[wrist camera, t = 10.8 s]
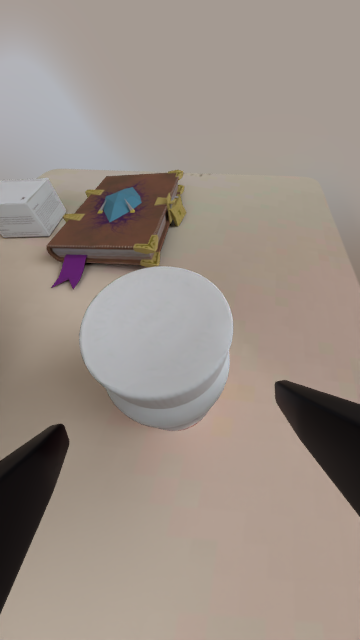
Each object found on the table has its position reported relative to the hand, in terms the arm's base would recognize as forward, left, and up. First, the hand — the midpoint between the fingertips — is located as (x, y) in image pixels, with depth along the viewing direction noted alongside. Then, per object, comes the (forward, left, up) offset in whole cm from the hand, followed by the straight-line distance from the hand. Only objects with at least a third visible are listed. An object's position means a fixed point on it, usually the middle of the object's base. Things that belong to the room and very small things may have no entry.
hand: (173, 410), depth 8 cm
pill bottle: (+3, 0, -8) cm, 8 cm away
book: (+26, +7, -8) cm, 28 cm away
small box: (+30, +23, -8) cm, 39 cm away
